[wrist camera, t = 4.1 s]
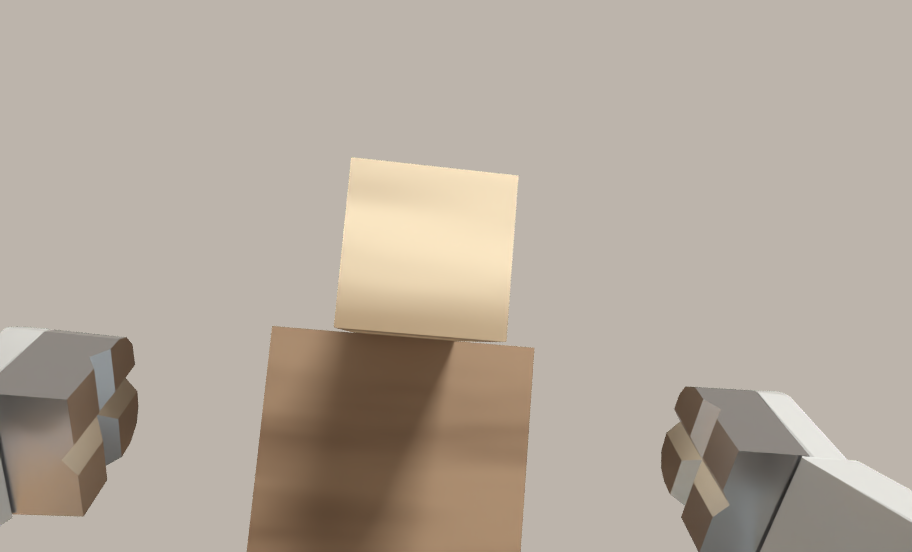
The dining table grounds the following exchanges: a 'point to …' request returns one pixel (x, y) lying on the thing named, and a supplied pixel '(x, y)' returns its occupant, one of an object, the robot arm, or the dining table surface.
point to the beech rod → (426, 252)
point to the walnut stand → (391, 445)
